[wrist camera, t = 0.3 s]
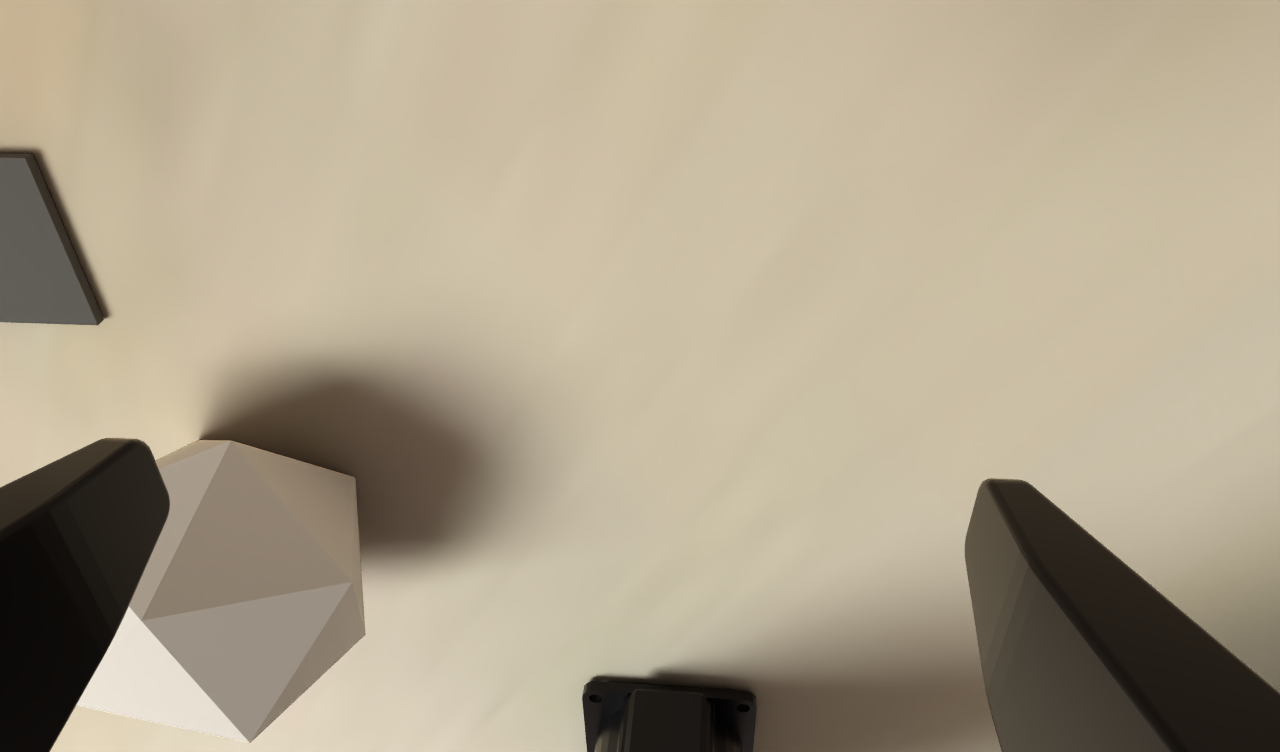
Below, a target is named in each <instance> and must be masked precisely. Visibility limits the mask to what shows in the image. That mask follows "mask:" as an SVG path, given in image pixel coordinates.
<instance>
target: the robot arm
mask: <svg viewBox="0 0 1280 752" xmlns="http://www.w3.org/2000/svg"><path fill="white" fill-rule="evenodd" d="M169 510H170V497H169V493H168V491H167V488H166V486H165V483H164V481H163V478H162V476H161V473H160V471H159V469H158V466H157V464H156V461H155V459H154V456H153V454H152V452H151V450H150V448H149V446H148V445H147V444H146V443H144V442H143V441H141V440H138V439H124V438H105V439H101V440H99V441H96V442H94V443H92V444H90V445H88V446H86V447H84V448H82V449H80V450H78V451H75V452H73V453H71V454H69V455H67V456H65V457H63V458H61V459H59V460H57V461H55V462H53V463H50V464H48V465H46V466H44V467H42V468H40V469H38V470H36V471H34V472H32V473H30V474H28V475H25V476H23V477H21V478H19V479H17V480H15V481H13V482H11V483H9V484H7V485H5V486H3V487H1V488H0V752H50V750H51V749H52V747H53V745H54V743H55V742H56V740H57V738H58V736H59V735H60V733H61V731H62V729H63V728H64V726H65V724H66V722H67V721H68V719H69V717H70V715H71V714H72V712H73V710H74V708H75V706H76V705H77V703H78V701H79V699H80V698H81V696H82V694H83V692H84V691H85V689H86V687H87V685H88V684H89V682H90V680H91V678H92V677H93V675H94V673H95V671H96V670H97V668H98V666H99V664H100V663H101V661H102V659H103V657H104V655H105V654H106V652H107V650H108V648H109V646H110V644H111V642H112V641H113V639H114V637H115V635H116V633H117V630H118V628H119V626H120V624H121V622H122V620H123V618H124V616H125V613H126V611H127V609H128V607H129V604H130V602H131V600H132V598H133V595H134V593H135V591H136V589H137V586H138V584H139V582H140V579H141V577H142V575H143V573H144V570H145V568H146V566H147V564H148V561H149V559H150V557H151V554H152V552H153V550H154V548H155V545H156V543H157V541H158V539H159V536H160V534H161V532H162V529H163V527H164V525H165V523H166V520H167V518H168V515H169ZM965 561H966V567H967V574H968V580H969V587H970V593H971V600H972V606H973V613H974V619H975V626H976V632H977V639H978V645H979V652H980V658H981V665H982V671H983V677H984V683H985V688H986V694H987V698H988V702H989V706H990V710H991V714H992V718H993V721H994V725H995V729H996V732H997V736H998V739H999V743H1000V746H1001V750H1002V752H1280V693H1279V692H1278V691H1277V690H1276V689H1274V688H1273V687H1272V686H1271V685H1270V684H1268V683H1267V682H1266V681H1265V680H1264V679H1262V678H1261V677H1260V676H1259V675H1258V674H1256V673H1255V672H1254V671H1253V670H1252V669H1250V668H1249V667H1248V666H1247V665H1246V664H1245V663H1243V662H1242V661H1241V660H1240V659H1239V658H1237V657H1236V656H1235V655H1234V654H1233V653H1231V652H1230V651H1229V650H1228V649H1227V648H1225V647H1224V646H1223V645H1222V644H1221V643H1219V642H1218V641H1217V640H1216V639H1215V638H1213V637H1212V636H1211V635H1210V634H1209V633H1208V632H1206V631H1205V630H1204V629H1203V628H1202V627H1200V626H1199V625H1198V624H1197V623H1196V622H1194V621H1193V620H1192V619H1191V618H1190V617H1188V616H1187V615H1186V614H1185V613H1184V612H1182V611H1181V610H1180V609H1179V608H1178V607H1176V606H1175V605H1174V604H1173V603H1172V602H1171V601H1169V600H1168V599H1167V598H1166V597H1165V596H1163V595H1162V594H1161V593H1160V592H1159V591H1157V590H1156V589H1155V588H1154V587H1153V586H1151V585H1150V584H1149V583H1148V582H1147V581H1145V580H1144V579H1143V578H1142V577H1141V576H1139V575H1138V574H1137V573H1136V572H1135V571H1133V570H1132V569H1131V568H1130V567H1129V566H1128V565H1126V564H1125V563H1124V562H1123V561H1122V560H1120V559H1119V558H1118V557H1117V556H1116V555H1114V554H1113V553H1112V552H1111V551H1110V550H1108V549H1107V548H1106V547H1105V546H1104V545H1102V544H1101V543H1100V542H1099V541H1098V540H1096V539H1095V538H1094V537H1093V536H1092V535H1091V534H1089V533H1088V532H1087V531H1086V530H1085V529H1083V528H1082V527H1081V526H1080V525H1079V524H1077V523H1076V522H1075V521H1074V520H1073V519H1071V518H1070V517H1069V516H1068V515H1067V514H1065V513H1064V512H1063V511H1062V510H1061V509H1059V508H1058V507H1057V506H1056V505H1055V504H1054V503H1052V502H1051V501H1050V500H1049V499H1048V498H1046V497H1045V496H1044V495H1043V494H1042V493H1040V492H1039V491H1038V490H1037V489H1036V488H1034V487H1033V486H1032V485H1031V484H1029V483H1028V482H1026V481H1023V480H1014V479H992V478H991V479H987V480H985V481H983V482H982V484H981V486H980V487H979V490H978V493H977V497H976V500H975V504H974V508H973V512H972V516H971V519H970V523H969V527H968V531H967V534H966V540H965ZM582 699H583V710H584V721H585V732H586V743H587V752H753V741H754V731H755V721H756V710H757V705H756V696H755V695H754V694H753V693H751V692H748V691H741V690H726V689H710V688H695V687H679V686H663V685H648V684H632V683H616V682H601V681H592V682H589V683H587V684H586V685H585V686H584V691H583V697H582Z"/></svg>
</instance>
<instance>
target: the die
mask: <svg viewBox="0 0 1280 752" xmlns="http://www.w3.org/2000/svg"><path fill="white" fill-rule="evenodd" d="M156 464H157V466H158V469H159V471H160V473H161V476H162V478H163V481H164V483H165V486H166V488H167V491H168V493H169V497H170V510H169V515H168V518H167V520H166V523H165V525H164V527H163V529H162V532H161V534H160V536H159V539H158V541H157V543H156V545H155V548H154V550H153V552H152V554H151V557H150V559H149V561H148V564H147V566H146V568H145V570H144V573H143V575H142V577H141V579H140V582H139V584H138V586H137V589H136V591H135V593H134V595H133V598H132V600H131V602H130V604H129V607H128V609H127V611H126V613H125V616H124V618H123V620H122V622H121V624H120V626H119V628H118V630H117V633H116V635H115V637H114V639H113V641H112V642H111V644H110V646H109V648H108V650H107V652H106V654H105V655H104V657H103V659H102V661H101V663H100V664H99V666H98V668H97V670H96V671H95V673H94V675H93V677H92V678H91V680H90V682H89V684H88V685H87V687H86V689H85V691H84V692H83V694H82V696H81V698H80V699H79V701H78V703H77V705H76V706H80V707H85V708H90V709H94V710H99V711H104V712H108V713H113V714H118V715H122V716H127V717H131V718H136V719H141V720H145V721H150V722H155V723H159V724H164V725H169V726H173V727H178V728H182V729H187V730H192V731H196V732H201V733H206V734H210V735H215V736H220V737H224V738H229V739H233V740H238V741H243V742H247V743H251V742H252V741H253V740H254V739H255V738H256V737H257V736H258V735H259V734H260V733H261V732H262V731H263V730H264V729H265V728H267V727H268V726H269V725H270V724H271V723H272V722H273V721H274V720H275V719H276V718H277V717H278V716H279V715H280V714H281V713H283V712H284V711H285V710H286V709H287V708H288V707H289V706H290V705H291V704H292V703H293V702H294V701H295V700H296V699H297V698H298V697H300V696H301V695H302V694H303V693H304V692H305V691H306V690H307V689H308V688H309V687H310V686H311V685H312V684H313V683H314V682H316V681H317V680H318V679H319V678H320V677H321V676H322V675H323V674H324V673H325V672H326V671H327V670H328V669H329V668H330V667H331V666H333V665H334V664H335V663H336V662H337V661H338V660H339V659H340V658H341V657H342V656H343V655H344V654H345V653H346V652H347V651H349V650H350V649H351V648H352V647H353V646H354V645H355V644H356V643H357V642H358V641H359V640H360V639H361V638H362V637H363V636H364V635H365V620H364V605H363V590H362V574H361V559H360V543H359V528H358V512H357V497H356V481H355V477H353V476H349V475H346V474H343V473H339V472H336V471H332V470H329V469H326V468H322V467H319V466H316V465H312V464H309V463H305V462H302V461H299V460H295V459H292V458H289V457H285V456H282V455H278V454H275V453H272V452H268V451H265V450H262V449H258V448H255V447H252V446H248V445H245V444H241V443H238V442H235V441H231V440H197V441H195V442H193V443H191V444H189V445H187V446H185V447H183V448H181V449H178V450H176V451H174V452H172V453H170V454H168V455H166V456H164V457H162V458H160V459H158V460H156Z"/></svg>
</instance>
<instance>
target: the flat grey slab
mask: <svg viewBox="0 0 1280 752" xmlns="http://www.w3.org/2000/svg"><path fill="white" fill-rule="evenodd" d="M103 320H104V319H103V317H102V314H101V312H100V310H99V307H98V305H97V303H96V300H95V298H94V296H93V293H92V291H91V289H90V286H89V284H88V282H87V279H86V277H85V275H84V272H83V270H82V268H81V265H80V263H79V261H78V258H77V256H76V254H75V251H74V249H73V247H72V244H71V242H70V240H69V237H68V235H67V233H66V230H65V228H64V226H63V223H62V221H61V219H60V216H59V214H58V212H57V210H56V207H55V205H54V203H53V200H52V198H51V196H50V193H49V191H48V189H47V186H46V184H45V182H44V179H43V177H42V175H41V172H40V170H39V168H38V165H37V163H36V161H35V158H34V156H33V154H11V153H0V322H15V323H46V324H77V325H98V324H100V323H101V322H102V321H103Z"/></svg>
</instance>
